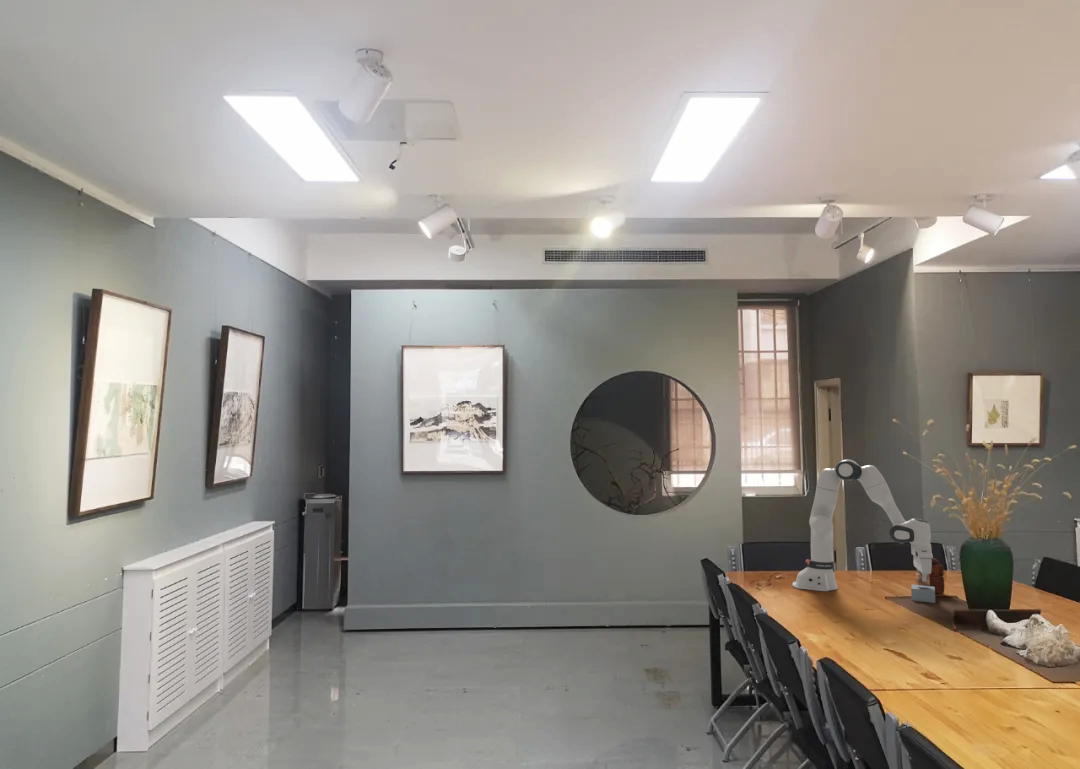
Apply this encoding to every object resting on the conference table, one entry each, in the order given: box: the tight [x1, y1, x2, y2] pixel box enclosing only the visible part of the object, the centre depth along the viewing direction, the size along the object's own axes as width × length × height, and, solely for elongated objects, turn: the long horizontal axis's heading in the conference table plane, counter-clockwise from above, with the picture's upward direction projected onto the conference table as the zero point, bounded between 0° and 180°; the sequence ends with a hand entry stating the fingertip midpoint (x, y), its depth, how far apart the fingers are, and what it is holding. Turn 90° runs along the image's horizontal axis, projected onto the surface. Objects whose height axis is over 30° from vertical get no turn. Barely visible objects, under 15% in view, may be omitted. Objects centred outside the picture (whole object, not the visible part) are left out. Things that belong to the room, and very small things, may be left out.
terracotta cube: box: [915, 572, 930, 585], centre depth 328 cm, size 5×5×5 cm
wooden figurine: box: [916, 557, 945, 595], centre depth 341 cm, size 12×6×18 cm, turn 72°
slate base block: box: [910, 583, 936, 604], centre depth 327 cm, size 10×10×6 cm
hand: (922, 579), depth 327 cm, fingers closed on terracotta cube, 5 cm apart
